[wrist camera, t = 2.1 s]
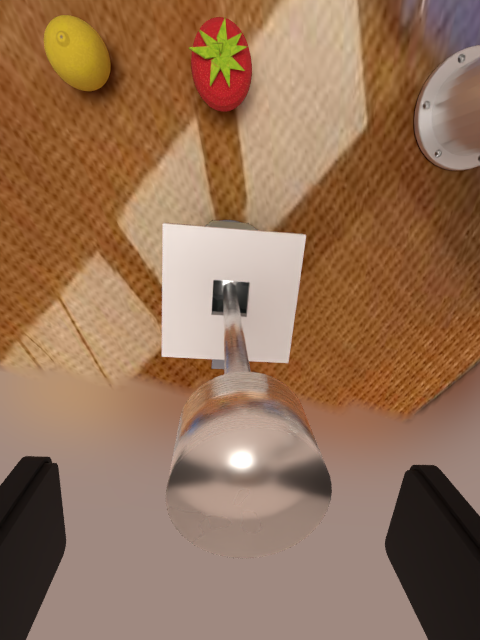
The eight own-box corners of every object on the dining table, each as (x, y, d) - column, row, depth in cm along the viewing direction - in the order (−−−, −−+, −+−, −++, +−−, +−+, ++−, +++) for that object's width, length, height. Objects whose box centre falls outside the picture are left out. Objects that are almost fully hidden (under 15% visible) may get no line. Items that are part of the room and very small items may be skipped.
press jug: (262, 323, 47) (284, 386, 31) (182, 318, 46) (161, 380, 30) (273, 223, 43) (306, 235, 27) (185, 216, 42) (162, 223, 26)
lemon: (112, 108, 38) (85, 84, 30) (63, 87, 37) (22, 58, 30) (125, 54, 36) (100, 14, 29) (73, 31, 36) (33, -17, 28)
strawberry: (200, 125, 39) (193, 100, 30) (190, 47, 37) (180, -7, 27) (250, 121, 39) (259, 94, 30) (244, 42, 37) (252, -14, 27)
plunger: (275, 247, 31) (432, 371, 8) (266, 329, 33) (365, 600, 10) (188, 240, 30) (84, 353, 7) (185, 324, 33) (102, 601, 10)
